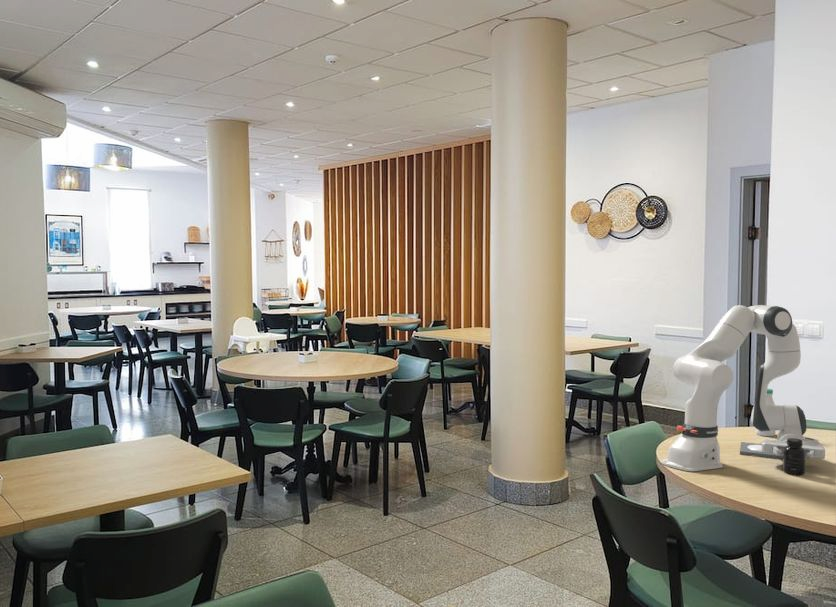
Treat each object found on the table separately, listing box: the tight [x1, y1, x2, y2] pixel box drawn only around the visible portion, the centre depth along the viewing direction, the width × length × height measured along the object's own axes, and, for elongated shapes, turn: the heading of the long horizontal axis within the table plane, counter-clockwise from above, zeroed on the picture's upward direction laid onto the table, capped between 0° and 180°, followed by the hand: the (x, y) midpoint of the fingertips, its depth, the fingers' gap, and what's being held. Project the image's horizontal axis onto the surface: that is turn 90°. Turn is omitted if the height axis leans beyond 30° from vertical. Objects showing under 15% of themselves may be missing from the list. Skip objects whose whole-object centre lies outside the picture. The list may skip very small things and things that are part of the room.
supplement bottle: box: [782, 438, 806, 476], centre depth 245 cm, size 7×7×12 cm
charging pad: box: [739, 441, 783, 460], centre depth 273 cm, size 16×16×1 cm
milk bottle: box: [755, 388, 776, 437], centre depth 301 cm, size 8×8×20 cm
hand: (794, 454), depth 246 cm, fingers open, 8 cm apart
